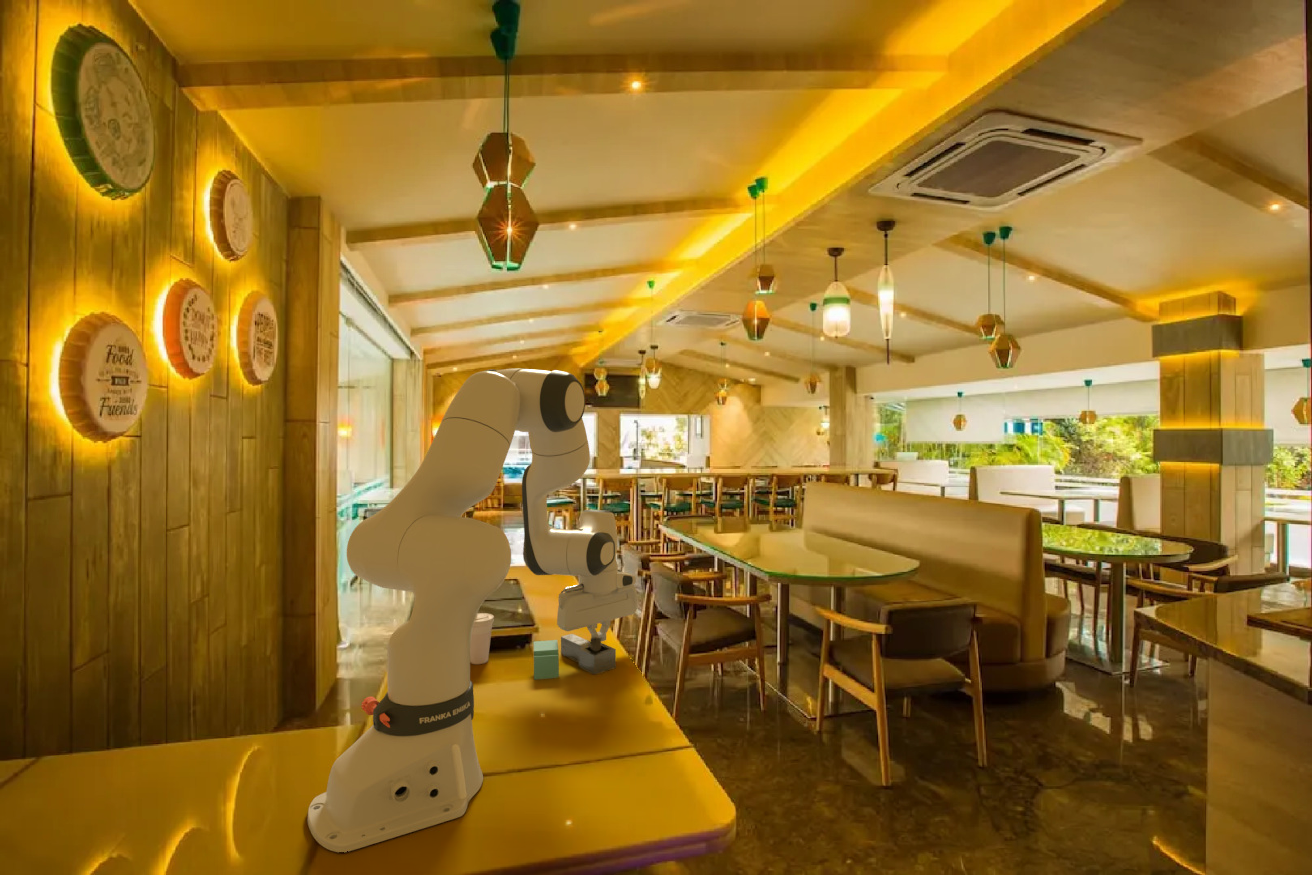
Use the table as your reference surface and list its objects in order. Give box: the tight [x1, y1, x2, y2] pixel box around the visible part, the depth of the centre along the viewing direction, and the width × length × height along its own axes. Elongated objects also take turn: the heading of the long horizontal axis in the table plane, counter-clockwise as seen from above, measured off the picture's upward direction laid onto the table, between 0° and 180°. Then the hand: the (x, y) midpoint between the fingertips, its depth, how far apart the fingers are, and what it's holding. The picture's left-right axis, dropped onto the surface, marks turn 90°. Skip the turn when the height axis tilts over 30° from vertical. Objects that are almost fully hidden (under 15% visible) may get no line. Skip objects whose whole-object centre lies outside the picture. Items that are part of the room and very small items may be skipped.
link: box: [560, 633, 617, 675], centre depth 138 cm, size 15×6×4 cm, turn 41°
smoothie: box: [470, 612, 495, 665], centre depth 139 cm, size 6×6×14 cm
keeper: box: [533, 639, 560, 680], centre depth 132 cm, size 5×7×5 cm
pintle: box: [590, 637, 602, 653], centre depth 135 cm, size 2×2×6 cm
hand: (598, 641), depth 143 cm, fingers closed
